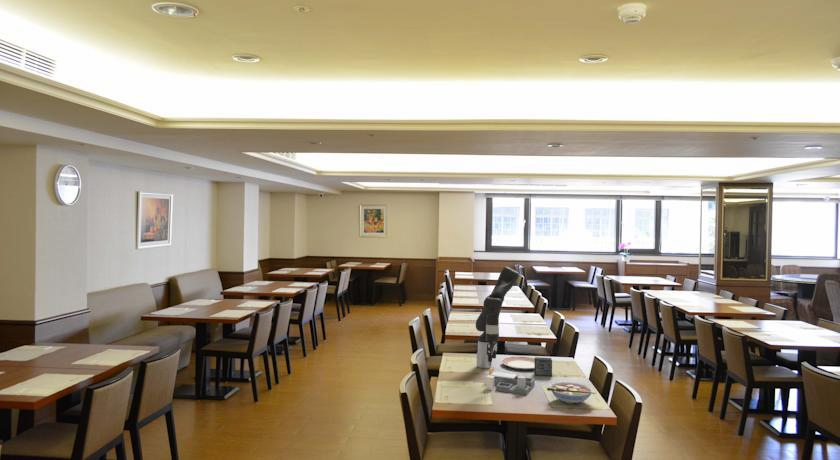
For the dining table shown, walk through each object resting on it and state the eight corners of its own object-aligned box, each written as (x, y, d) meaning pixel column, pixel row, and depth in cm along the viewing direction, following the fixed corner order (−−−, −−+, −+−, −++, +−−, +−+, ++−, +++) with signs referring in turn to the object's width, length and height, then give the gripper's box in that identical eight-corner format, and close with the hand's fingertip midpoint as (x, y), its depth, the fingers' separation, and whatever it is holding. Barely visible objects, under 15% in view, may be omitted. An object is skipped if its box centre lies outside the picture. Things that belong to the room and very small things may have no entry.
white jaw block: (485, 388, 313) (485, 376, 313) (487, 387, 317) (488, 375, 316) (492, 389, 311) (492, 377, 311) (494, 387, 315) (494, 376, 315)
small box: (550, 373, 347) (551, 357, 347) (552, 376, 340) (552, 360, 340) (534, 372, 348) (534, 356, 348) (535, 375, 341) (535, 359, 341)
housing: (480, 388, 314) (480, 373, 314) (490, 379, 333) (490, 365, 332) (526, 394, 303) (527, 379, 303) (534, 385, 321) (534, 371, 321)
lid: (487, 375, 325) (487, 369, 325) (491, 372, 332) (491, 366, 332) (513, 379, 318) (513, 373, 318) (517, 375, 325) (517, 369, 325)
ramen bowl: (592, 397, 301) (592, 382, 301) (596, 411, 279) (596, 395, 279) (546, 393, 307) (547, 378, 307) (546, 406, 285) (547, 391, 285)
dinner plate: (543, 373, 348) (543, 368, 348) (500, 370, 353) (500, 365, 353) (542, 362, 374) (542, 357, 374) (502, 359, 380) (502, 355, 380)
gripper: (489, 329, 322) (489, 356, 322) (482, 333, 309) (482, 362, 309) (501, 330, 319) (501, 358, 319) (495, 335, 306) (495, 363, 306)
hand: (492, 360), depth 314 cm, fingers open, 8 cm apart
